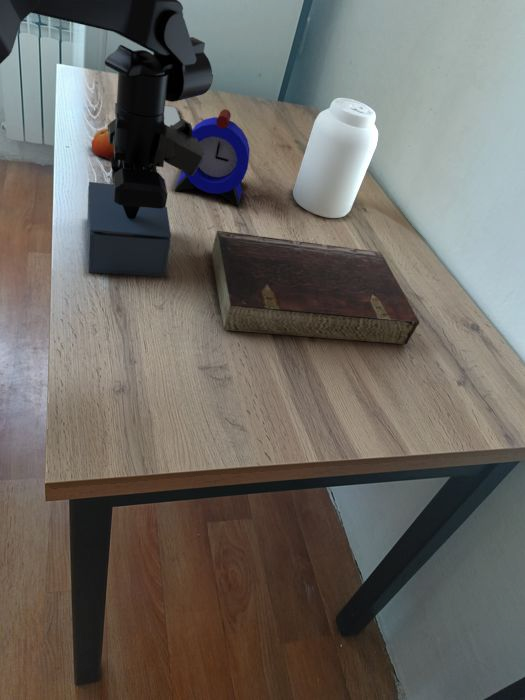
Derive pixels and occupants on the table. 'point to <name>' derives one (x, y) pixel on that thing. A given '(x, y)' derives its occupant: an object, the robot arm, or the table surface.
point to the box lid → (128, 220)
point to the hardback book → (308, 290)
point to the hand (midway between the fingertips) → (131, 216)
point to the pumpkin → (102, 144)
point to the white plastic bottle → (336, 158)
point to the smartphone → (171, 115)
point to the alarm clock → (219, 158)
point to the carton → (123, 246)
